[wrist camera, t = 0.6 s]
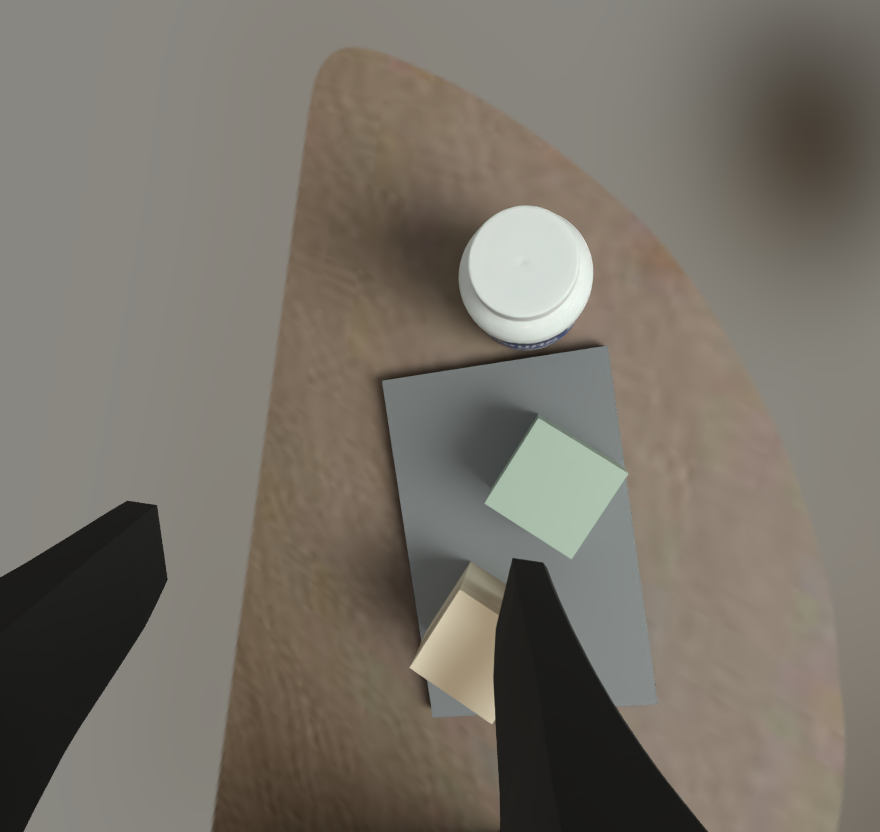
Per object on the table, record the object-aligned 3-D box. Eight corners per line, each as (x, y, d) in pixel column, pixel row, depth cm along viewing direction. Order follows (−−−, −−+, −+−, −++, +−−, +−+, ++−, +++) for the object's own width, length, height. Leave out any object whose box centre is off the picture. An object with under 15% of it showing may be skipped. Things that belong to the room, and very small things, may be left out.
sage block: (616, 461, 30) (628, 473, 26) (567, 536, 31) (571, 559, 27) (538, 413, 31) (538, 418, 27) (491, 488, 31) (484, 503, 27)
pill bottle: (462, 334, 32) (428, 313, 22) (493, 233, 31) (473, 167, 22) (562, 365, 31) (572, 356, 22) (596, 262, 31) (622, 207, 21)
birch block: (543, 609, 31) (544, 645, 27) (498, 677, 32) (491, 724, 27) (470, 561, 32) (459, 589, 27) (427, 629, 32) (409, 667, 28)
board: (654, 695, 31) (657, 704, 30) (435, 709, 33) (432, 717, 32) (605, 346, 31) (607, 345, 30) (385, 380, 33) (381, 380, 32)
